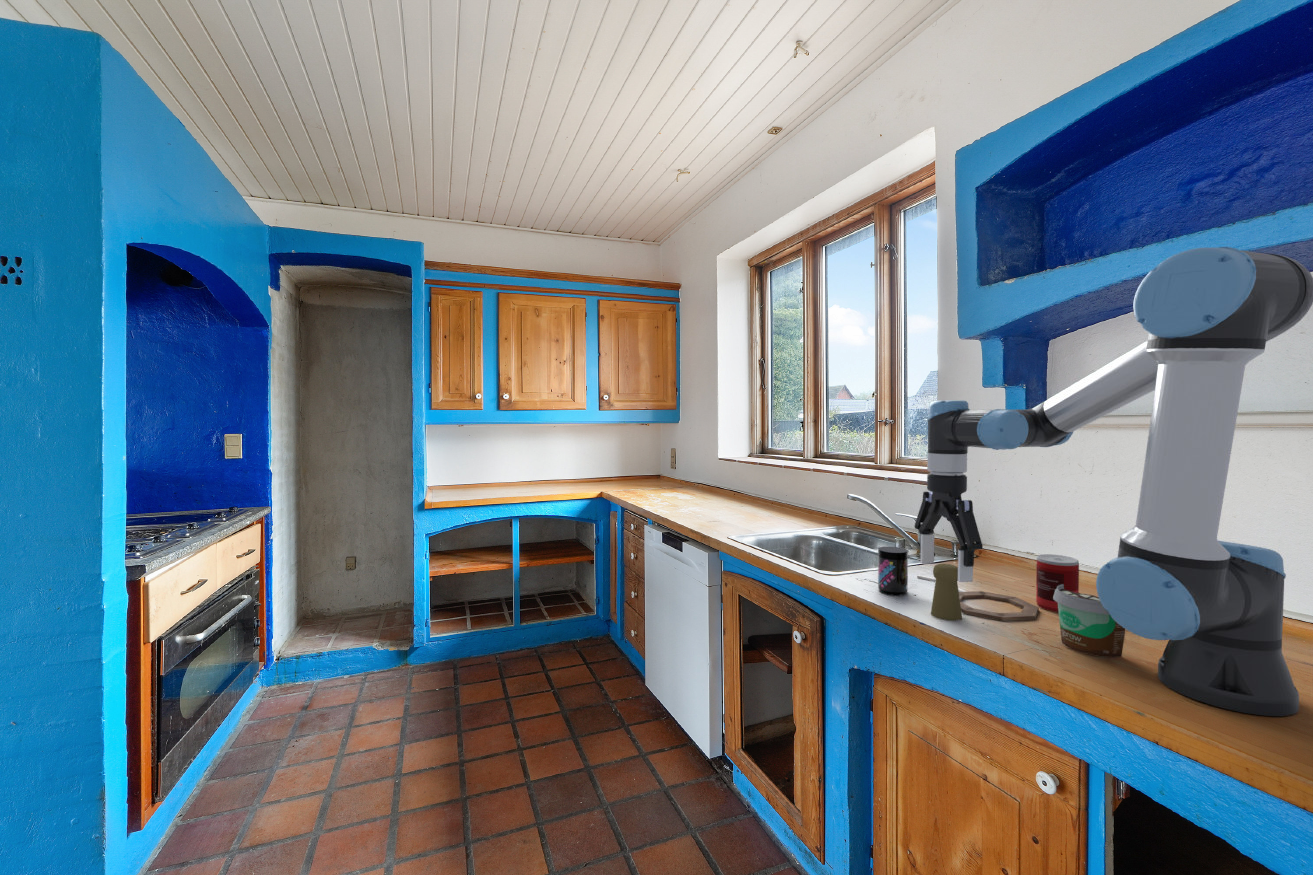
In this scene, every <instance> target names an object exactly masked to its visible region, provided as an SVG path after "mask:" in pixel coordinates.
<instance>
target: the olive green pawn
mask: <svg viewBox="0 0 1313 875" xmlns="http://www.w3.org/2000/svg"><path fill="white" fill-rule="evenodd" d="M932 574H933V578H935V579H936V582H935V581H934V589H933V590H934V591H933V597H932V604H931V610H930V615H931V616H932V617H934V618H936V619H940V620H944V621H952V622H953V621H960V620H962V619H963V613H962V612H961V605H960V598H959V591H958V588H959V586H958V582H959V581H958V566H956V565H954V564H951V563H937V564H935V565H934V566H933V568H932Z"/></svg>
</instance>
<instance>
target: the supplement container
mask: <svg viewBox="0 0 1313 875" xmlns="http://www.w3.org/2000/svg"><path fill="white" fill-rule="evenodd" d="M877 558H878V559H877V561H878V562H877V563H878V564H877V566H878V567H877V573H878V574H877V576H878V577H877V583H878V584H877V588H878V590H879V592H880V593H882V594H885V595H889V596H904V595H906V594H907V593H908V590H909V588H908V583H909V582H908V581H909V579H908V577H909V576H908V575H909V571H908V570H909V569H908V567H909V563H908V562H909V561H908V560H909V550H908V549H906V548H904V547H898V546H890V545H889V546H887V545H885V546H879V547H878V548H877Z"/></svg>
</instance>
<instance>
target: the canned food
mask: <svg viewBox="0 0 1313 875" xmlns="http://www.w3.org/2000/svg"><path fill="white" fill-rule="evenodd" d="M1035 567H1036V568H1035V570H1036V573H1035V574H1036V583H1035V584H1036V587H1035V588H1036V589H1035V590H1036V591H1035V600H1036V606H1038V607H1039V608H1040V609H1044V610H1046V611H1050V612H1054V613H1059V611H1058V602H1056V601H1055V600H1054V599H1053V596H1054V593H1055V590H1056V589H1057V586H1059V585H1062V584H1063V585H1064V589H1065V590H1068V591H1072V592H1076V593H1079V590H1080V588H1079V587H1080V584H1079V583H1080V563H1079V560H1078V559H1077V558H1074V557H1071V556H1067V555H1062V554H1049V553H1048V554H1045V553H1044V554H1039V555H1037V556H1036V566H1035Z"/></svg>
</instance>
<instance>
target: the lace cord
mask: <svg viewBox="0 0 1313 875" xmlns="http://www.w3.org/2000/svg"><path fill="white" fill-rule="evenodd" d="M916 578H917V579H922V580H926V581H931V582H934V583H935V582H936V578H935V577H930V576H925V575H921V574H920V575H919V574H918V575H916ZM958 591H959V592H967V591H966V590H964V589H963V588H960V587H958Z"/></svg>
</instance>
